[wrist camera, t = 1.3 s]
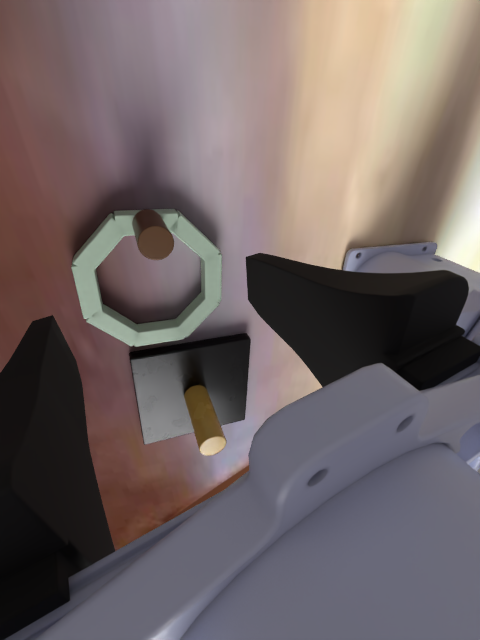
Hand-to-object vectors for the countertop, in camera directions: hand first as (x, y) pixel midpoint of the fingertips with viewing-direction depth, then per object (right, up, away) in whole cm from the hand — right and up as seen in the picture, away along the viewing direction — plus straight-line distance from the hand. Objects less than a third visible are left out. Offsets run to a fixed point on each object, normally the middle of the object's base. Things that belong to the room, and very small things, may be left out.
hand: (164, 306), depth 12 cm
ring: (-3, +2, +10) cm, 11 cm away
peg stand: (-1, -6, +16) cm, 18 cm away
